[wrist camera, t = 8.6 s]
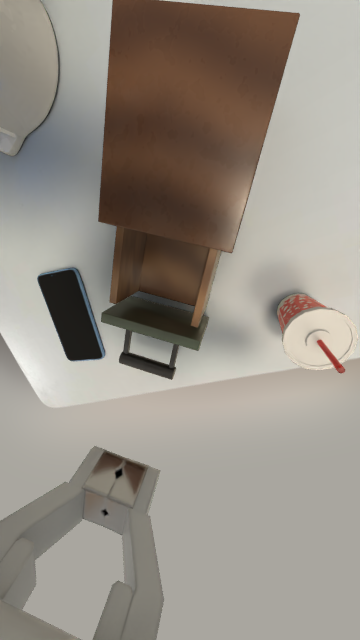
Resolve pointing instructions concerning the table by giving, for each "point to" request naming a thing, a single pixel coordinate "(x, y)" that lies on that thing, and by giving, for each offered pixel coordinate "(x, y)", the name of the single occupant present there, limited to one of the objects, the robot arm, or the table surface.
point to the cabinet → (188, 115)
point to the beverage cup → (315, 333)
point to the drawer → (159, 293)
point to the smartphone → (71, 314)
